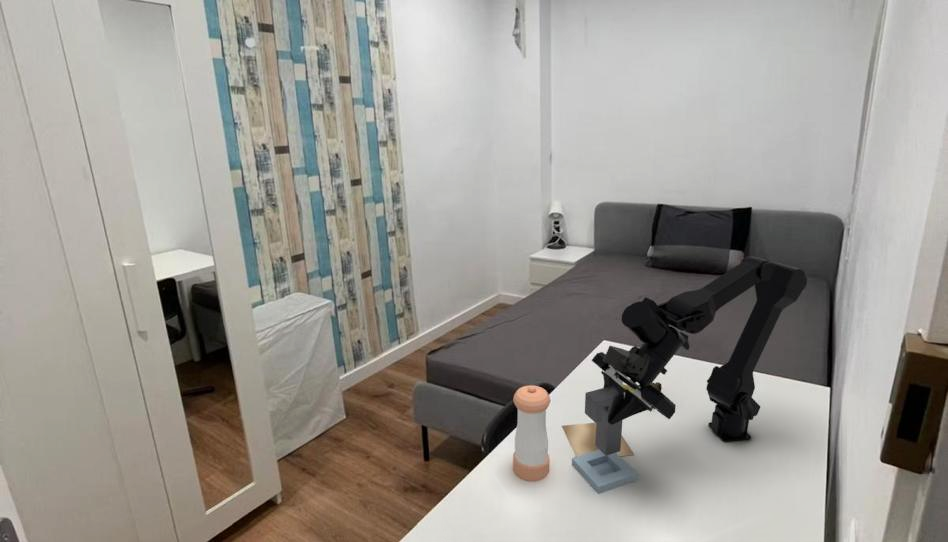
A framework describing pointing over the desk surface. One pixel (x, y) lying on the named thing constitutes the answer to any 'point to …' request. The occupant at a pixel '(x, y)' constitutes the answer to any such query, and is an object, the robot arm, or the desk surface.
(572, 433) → the tan metal pad
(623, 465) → the square socket block
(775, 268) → the robot arm
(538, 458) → the salt shaker
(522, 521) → the desk surface
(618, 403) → the grey hook block
